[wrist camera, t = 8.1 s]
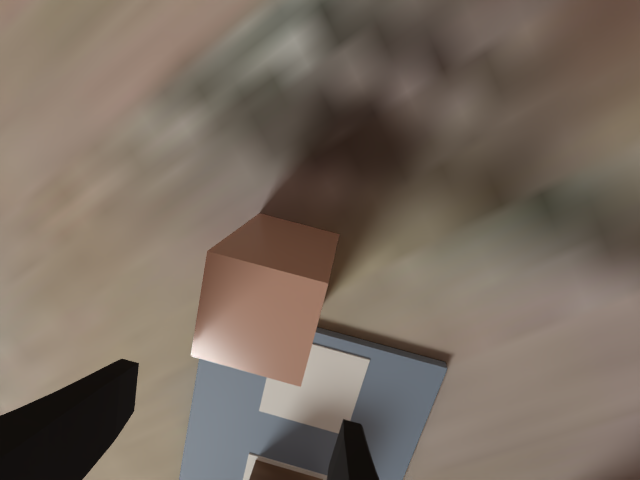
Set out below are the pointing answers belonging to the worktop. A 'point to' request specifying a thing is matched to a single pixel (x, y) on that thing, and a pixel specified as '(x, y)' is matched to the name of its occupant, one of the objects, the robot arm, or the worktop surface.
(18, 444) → the robot arm
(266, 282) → the terracotta pillar
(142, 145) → the worktop surface
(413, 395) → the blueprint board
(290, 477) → the walnut pillar
